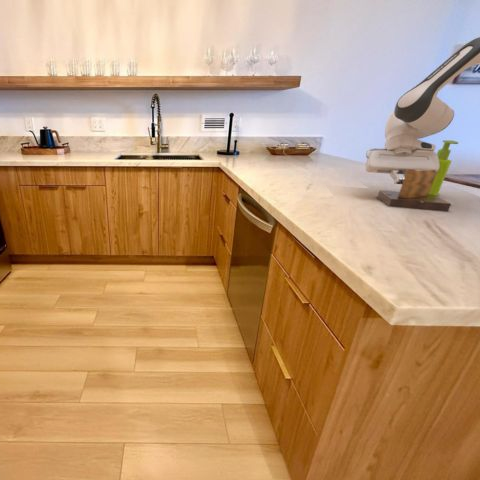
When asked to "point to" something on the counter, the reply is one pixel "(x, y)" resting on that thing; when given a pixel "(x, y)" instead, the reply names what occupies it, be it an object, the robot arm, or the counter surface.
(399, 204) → the dark square slab
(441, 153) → the soap dispenser
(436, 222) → the counter surface
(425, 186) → the wooden block
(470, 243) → the counter surface
